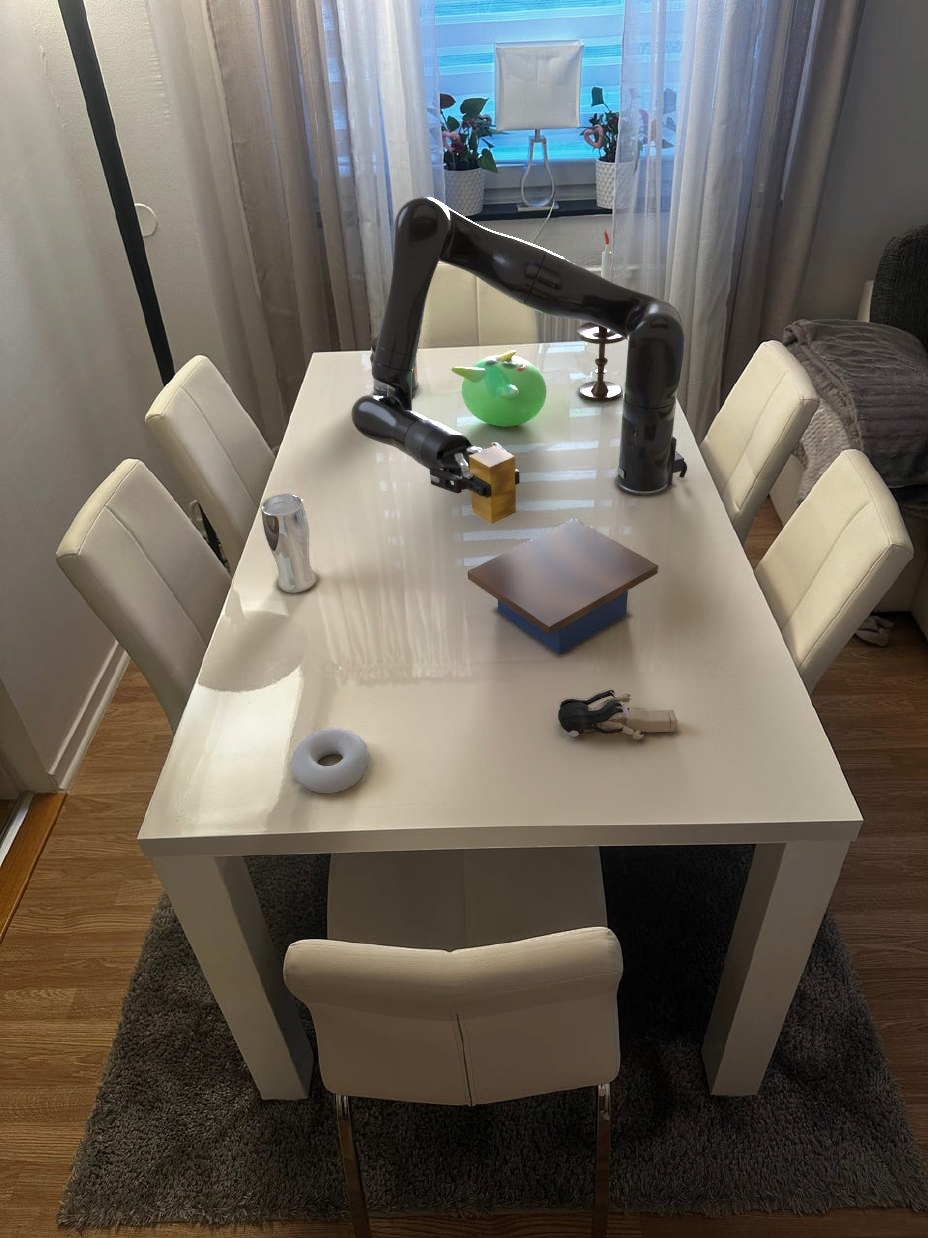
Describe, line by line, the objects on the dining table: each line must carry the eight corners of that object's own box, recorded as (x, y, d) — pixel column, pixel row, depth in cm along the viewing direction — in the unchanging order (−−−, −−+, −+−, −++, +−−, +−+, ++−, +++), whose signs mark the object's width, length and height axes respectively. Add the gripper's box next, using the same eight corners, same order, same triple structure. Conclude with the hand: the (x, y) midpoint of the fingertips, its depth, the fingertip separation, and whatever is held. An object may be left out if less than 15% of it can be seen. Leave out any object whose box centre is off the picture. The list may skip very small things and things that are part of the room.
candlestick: (565, 394, 200) (569, 230, 179) (594, 379, 206) (601, 218, 185) (605, 407, 194) (614, 239, 173) (633, 390, 200) (646, 226, 179)
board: (573, 525, 144) (574, 517, 144) (657, 573, 133) (658, 565, 132) (467, 579, 134) (467, 570, 133) (549, 635, 123) (549, 627, 122)
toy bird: (558, 415, 192) (560, 348, 183) (520, 447, 181) (519, 378, 172) (487, 399, 200) (485, 335, 191) (446, 429, 189) (442, 362, 180)
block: (496, 500, 144) (494, 444, 138) (516, 512, 141) (515, 456, 135) (471, 512, 142) (468, 455, 135) (491, 524, 138) (489, 467, 132)
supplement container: (419, 380, 210) (415, 330, 203) (419, 399, 202) (415, 348, 195) (375, 383, 210) (369, 333, 203) (372, 402, 202) (366, 351, 195)
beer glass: (325, 573, 149) (311, 495, 140) (306, 597, 144) (291, 518, 135) (288, 567, 151) (272, 490, 142) (268, 590, 146) (250, 512, 137)
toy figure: (659, 701, 122) (552, 710, 120) (668, 670, 117) (556, 680, 116) (674, 743, 117) (562, 753, 115) (683, 713, 112) (567, 723, 111)
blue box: (563, 576, 146) (564, 540, 141) (626, 615, 137) (629, 578, 132) (497, 610, 139) (496, 574, 135) (559, 654, 130) (560, 616, 126)
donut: (282, 794, 112) (358, 803, 110) (276, 776, 110) (354, 784, 108) (308, 737, 120) (380, 745, 118) (304, 719, 117) (376, 726, 115)
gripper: (399, 441, 141) (466, 479, 130) (470, 413, 148) (539, 447, 137) (404, 482, 146) (468, 523, 135) (472, 453, 152) (539, 490, 141)
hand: (503, 485), depth 136 cm, fingers closed on block, 5 cm apart
